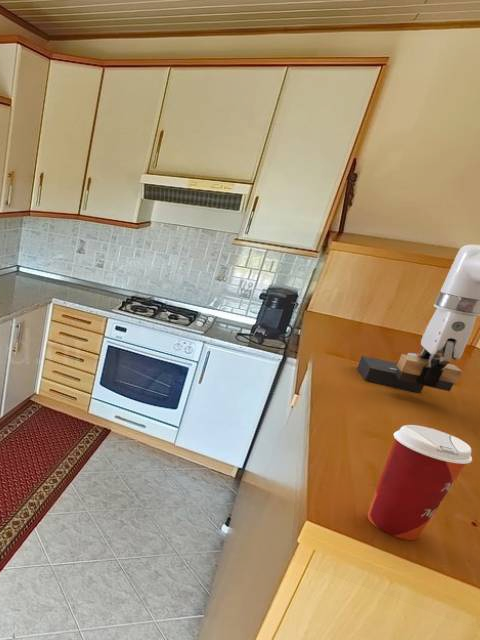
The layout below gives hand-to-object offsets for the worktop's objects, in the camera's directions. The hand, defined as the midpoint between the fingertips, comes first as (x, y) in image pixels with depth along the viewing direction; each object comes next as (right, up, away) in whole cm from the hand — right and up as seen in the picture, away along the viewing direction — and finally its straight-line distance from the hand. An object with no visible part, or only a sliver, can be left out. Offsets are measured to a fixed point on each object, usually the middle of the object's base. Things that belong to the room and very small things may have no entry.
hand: (422, 380), depth 111 cm
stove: (+3, -1, +13) cm, 13 cm away
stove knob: (+5, +1, +9) cm, 10 cm away
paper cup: (-45, -18, -44) cm, 65 cm away
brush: (0, -1, 0) cm, 1 cm away
